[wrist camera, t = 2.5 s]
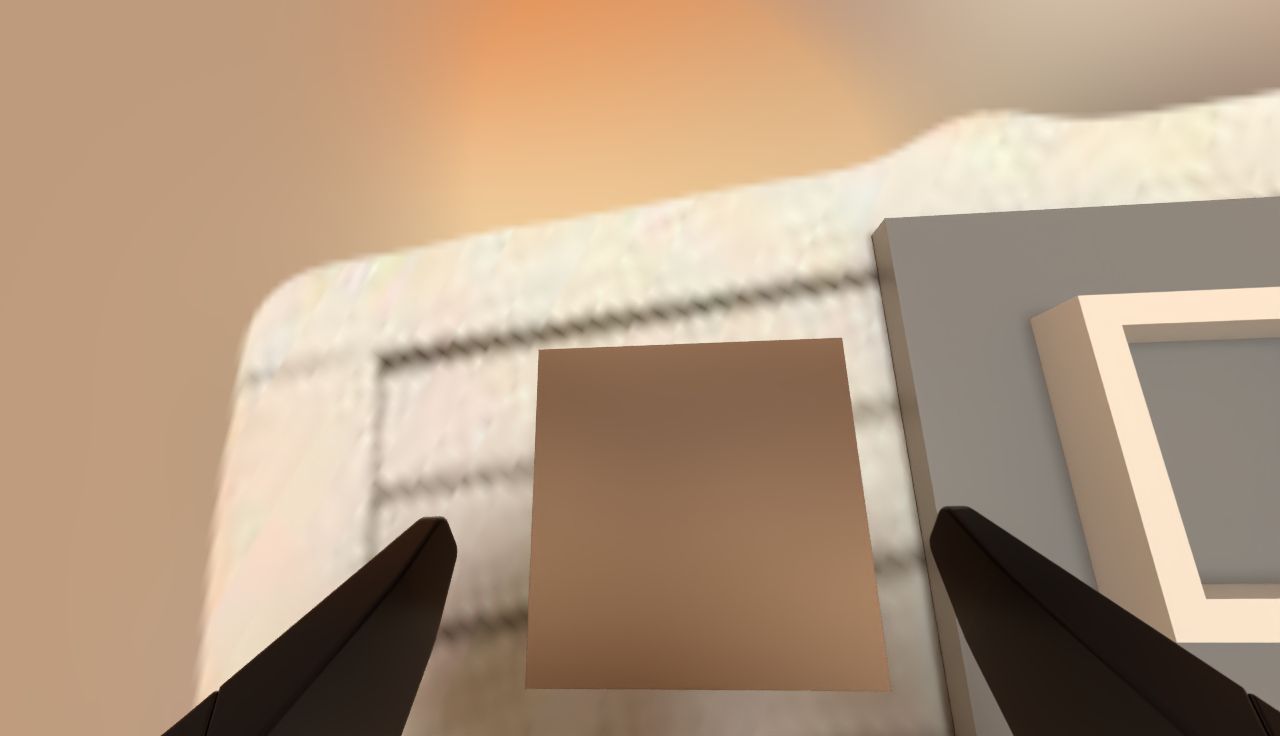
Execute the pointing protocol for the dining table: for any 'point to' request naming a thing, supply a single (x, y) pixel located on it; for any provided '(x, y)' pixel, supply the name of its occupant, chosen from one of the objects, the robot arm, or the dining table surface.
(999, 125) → the dining table surface
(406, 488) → the dining table surface
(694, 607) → the walnut block
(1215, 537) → the socket plate
